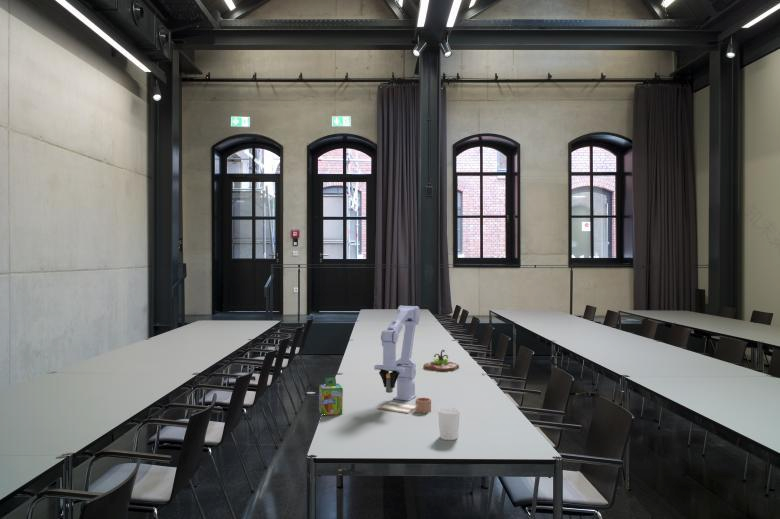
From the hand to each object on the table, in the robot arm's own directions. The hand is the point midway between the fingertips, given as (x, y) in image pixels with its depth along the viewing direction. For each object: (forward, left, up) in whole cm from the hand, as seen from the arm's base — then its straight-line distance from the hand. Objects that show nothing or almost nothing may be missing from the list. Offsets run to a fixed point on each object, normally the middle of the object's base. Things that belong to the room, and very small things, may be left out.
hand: (389, 387), depth 242 cm
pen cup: (-3, +15, -9) cm, 18 cm away
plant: (-91, -12, -10) cm, 93 cm away
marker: (0, 0, -2) cm, 2 cm away
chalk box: (+18, -20, -10) cm, 28 cm away
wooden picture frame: (-2, +3, -9) cm, 10 cm away
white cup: (+24, +37, -10) cm, 45 cm away
